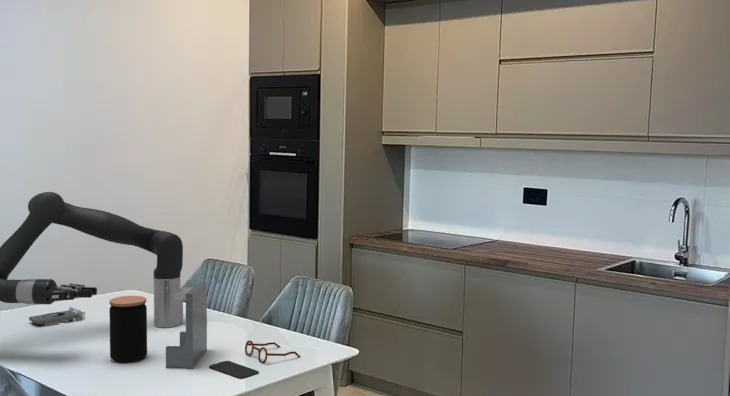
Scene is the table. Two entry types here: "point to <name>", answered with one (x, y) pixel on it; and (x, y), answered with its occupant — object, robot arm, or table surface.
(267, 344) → the glasses
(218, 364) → the phone
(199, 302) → the bracket
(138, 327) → the coffee jar
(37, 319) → the graphics card
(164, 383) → the table surface
